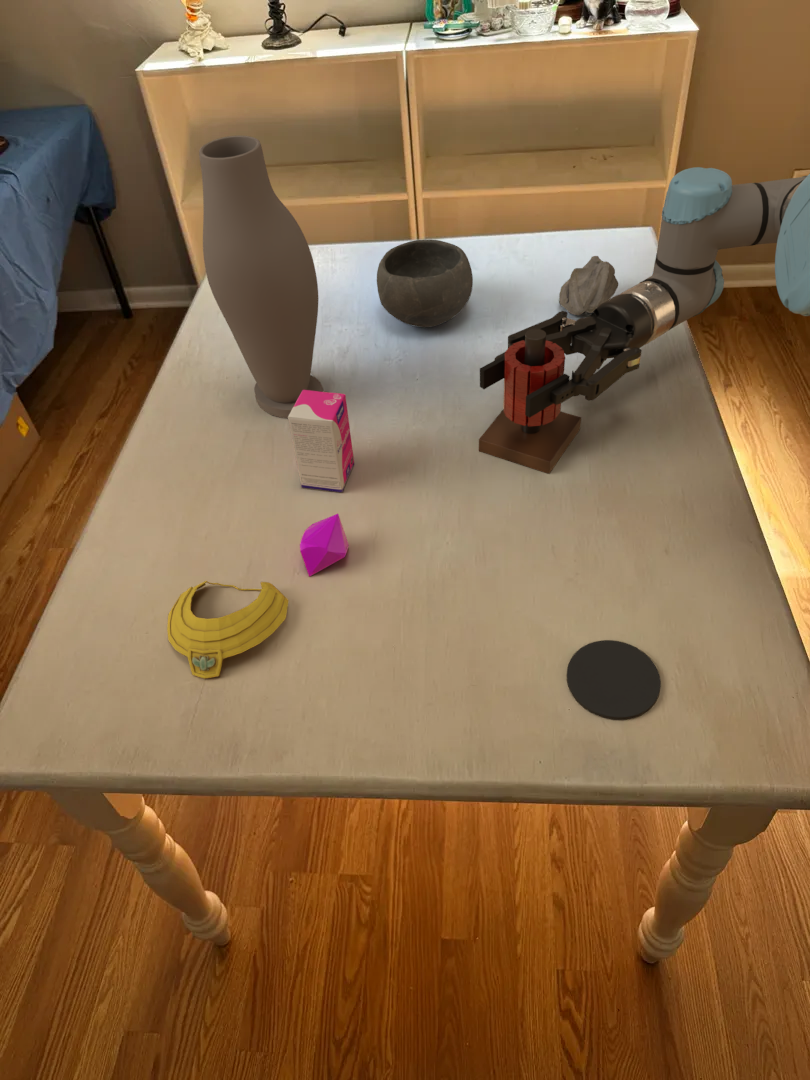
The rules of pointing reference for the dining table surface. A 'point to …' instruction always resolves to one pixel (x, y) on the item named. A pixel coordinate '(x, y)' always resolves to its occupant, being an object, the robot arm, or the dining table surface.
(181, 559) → the dining table surface
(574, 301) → the fossil
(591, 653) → the mat
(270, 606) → the necklace
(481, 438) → the ring holder
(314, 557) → the crystal
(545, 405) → the robot arm
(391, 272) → the bowl
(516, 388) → the ring
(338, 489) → the supplement box
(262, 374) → the vase
